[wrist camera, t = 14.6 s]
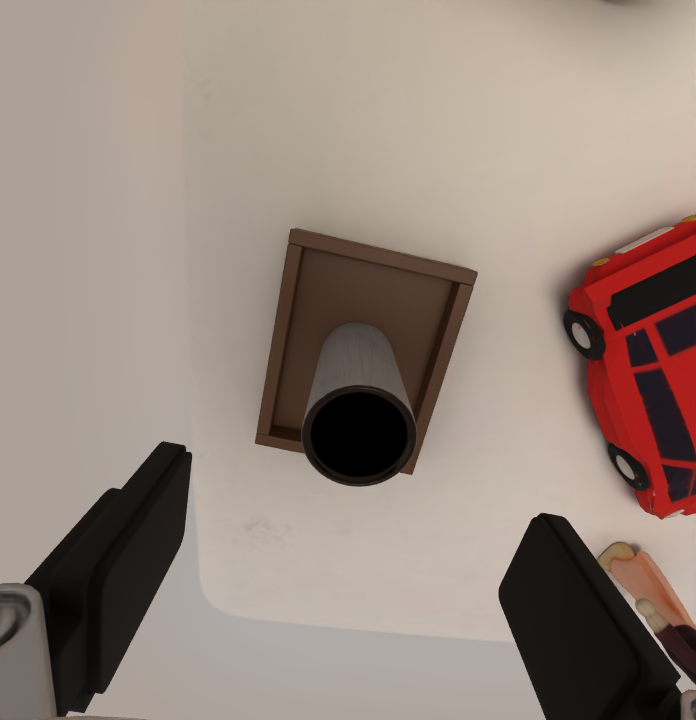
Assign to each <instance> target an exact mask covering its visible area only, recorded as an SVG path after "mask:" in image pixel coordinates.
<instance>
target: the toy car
mask: <svg viewBox="0 0 696 720" xmlns="http://www.w3.org/2000/svg"><path fill="white" fill-rule="evenodd" d="M614 252H615V255H613V256H611V257H609V258H603V259H599V260H597V261H595V262H594V263H593V266H592V267H590V268H589V269H588V272H587V274H586V277H585V279H584V282H583V284H582V285H581V286H579V287H577V288H575V289H574V290H572V291H571V293H570V294H569V295H568V298H569V301H570V303H569V309H568V310H567V311H566V312H565V314H564V326H565V329H566V332H567V334H568V336H569V338H570V340H571V342H572V343H573V345H574V346H575V347H576V349H577V350H578V351H579V352H580V353H581V354H582V355H583V356H584V357H586V358H587V359H589V362H588V384H587V392H588V395H589V398H590V400H591V403H592V406H593V409H594V411H595V414H596V417H597V419H598V422H599V425H600V427H601V430H602V433H603V435H604V437H605V438H606V439H607V440H608V441H610V442H611V443H610V444H609V446H608V452H609V456H610V458H611V460H612V462H613V464H614V466H615V467H616V469H617V470H618V472H619V473H620V475H621V476H622V477H623V478H624V480H625V481H626V482H627V483H628V484H629V485H630V486H632V487H633V488H634V489H635V493H636V496H637V499H638V502H639V504H640V506H641V507H642V508H643V510H644V511H645V512H647V513H650V514H652V515H656V516H657V517H659V518H660V519H661V520H662V519H664V518H670V517H674V516H677V515H679V514H683V515H690V514H694V513H696V215H692V216H689V217H686V218H684V219H683V220H682V222H680V223H678V224H676V225H674V226H672V227H663V228H661V229H659V230H657V231H655V232H653V233H651V234H649V235H647V236H645V237H643V238H641V239H639V240H637V241H635V242H633V243H631V244H629V245H627V246H625V247H623V248H620V249H618V250H616V251H614Z"/></svg>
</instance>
